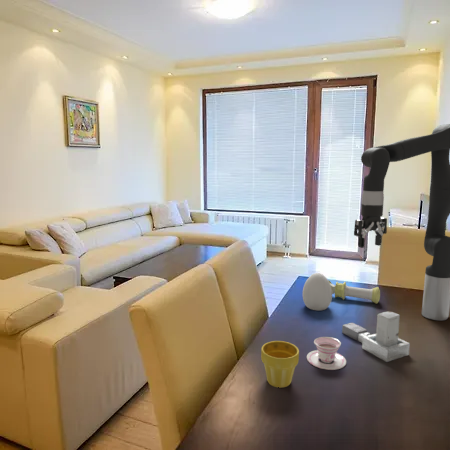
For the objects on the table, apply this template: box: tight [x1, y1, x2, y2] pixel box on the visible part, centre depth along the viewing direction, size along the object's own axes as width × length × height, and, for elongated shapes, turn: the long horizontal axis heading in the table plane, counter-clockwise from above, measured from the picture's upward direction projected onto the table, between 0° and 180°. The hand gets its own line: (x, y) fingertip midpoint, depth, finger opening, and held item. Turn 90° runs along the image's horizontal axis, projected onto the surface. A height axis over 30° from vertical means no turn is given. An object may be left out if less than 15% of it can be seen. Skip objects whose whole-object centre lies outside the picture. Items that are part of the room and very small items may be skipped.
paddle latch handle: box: [341, 322, 411, 363], centre depth 131 cm, size 10×22×4 cm, turn 27°
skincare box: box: [375, 310, 400, 347], centre depth 125 cm, size 6×4×12 cm
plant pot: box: [260, 340, 300, 389], centre depth 108 cm, size 10×10×10 cm
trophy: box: [328, 279, 381, 305], centre depth 175 cm, size 8×8×30 cm
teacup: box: [306, 336, 347, 371], centre depth 120 cm, size 12×12×6 cm
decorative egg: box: [302, 272, 333, 311], centre depth 164 cm, size 12×12×15 cm
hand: (369, 246), depth 144 cm, fingers open, 8 cm apart
